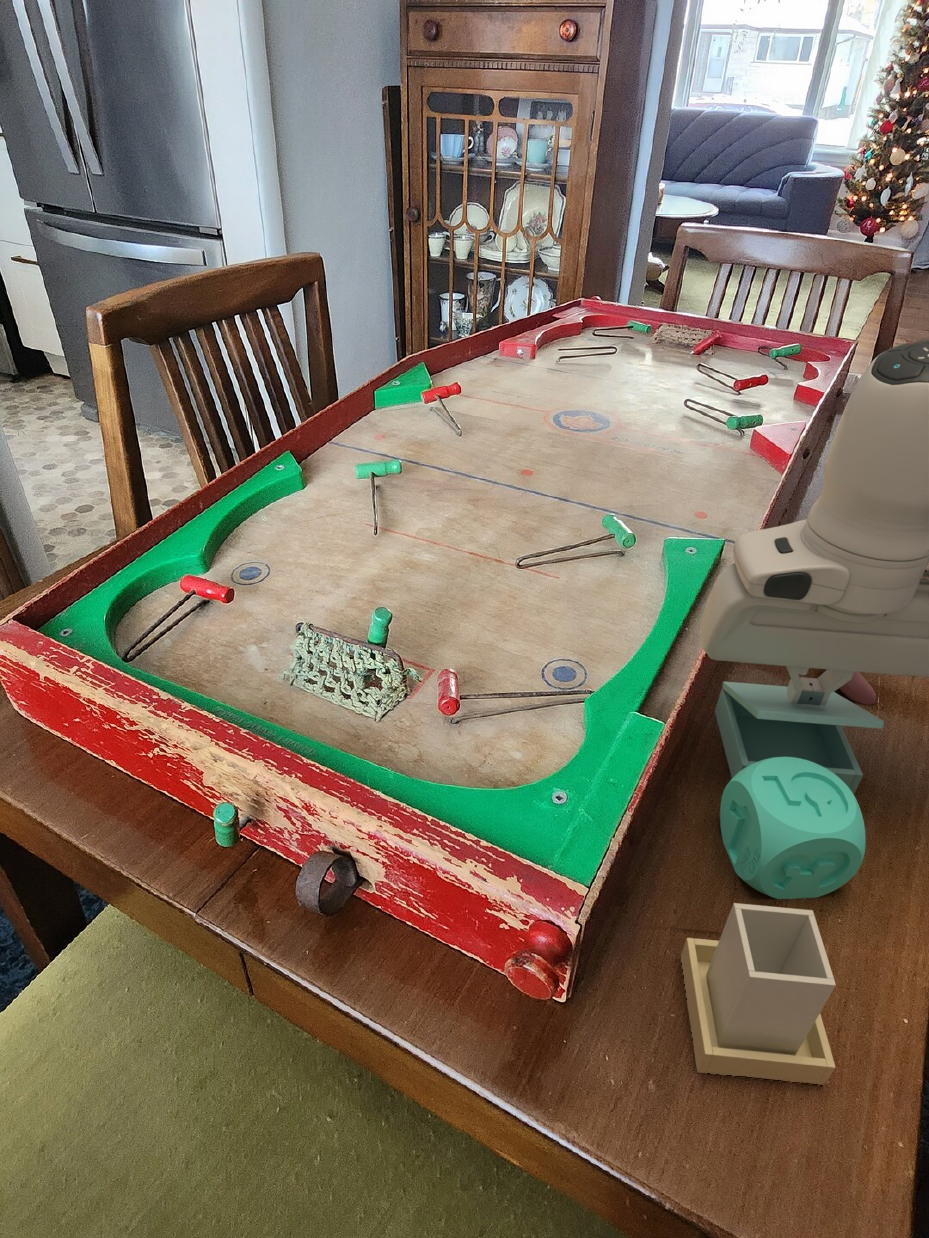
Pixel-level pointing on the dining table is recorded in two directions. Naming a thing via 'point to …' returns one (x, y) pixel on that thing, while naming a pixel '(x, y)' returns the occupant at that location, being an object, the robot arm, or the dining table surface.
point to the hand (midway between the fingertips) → (804, 699)
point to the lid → (799, 707)
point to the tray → (804, 1066)
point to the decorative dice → (792, 828)
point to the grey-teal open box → (783, 741)
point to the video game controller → (859, 690)
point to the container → (768, 979)
